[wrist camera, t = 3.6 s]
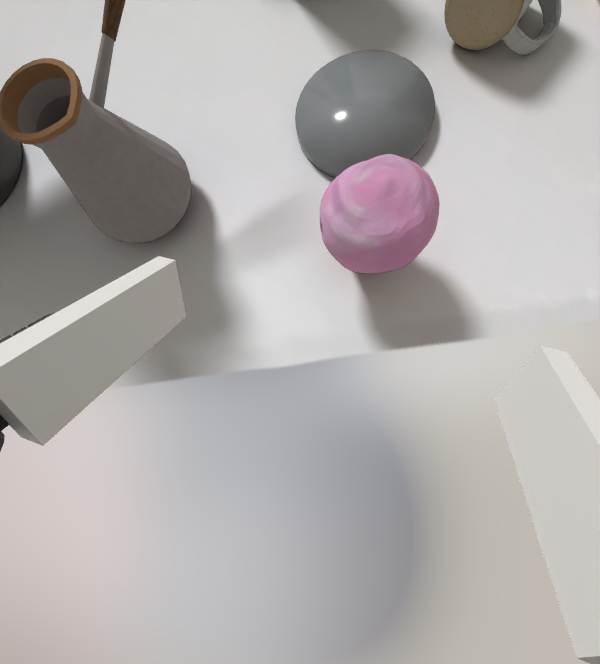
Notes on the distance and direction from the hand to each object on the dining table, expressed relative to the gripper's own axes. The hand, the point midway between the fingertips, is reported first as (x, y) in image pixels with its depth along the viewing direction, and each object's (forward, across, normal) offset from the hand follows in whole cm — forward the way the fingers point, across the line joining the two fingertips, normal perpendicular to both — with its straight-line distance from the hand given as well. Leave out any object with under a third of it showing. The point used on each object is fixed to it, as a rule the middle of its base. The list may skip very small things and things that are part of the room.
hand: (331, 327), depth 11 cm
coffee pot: (+23, -23, -1) cm, 32 cm away
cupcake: (+20, 0, -4) cm, 20 cm away
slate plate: (+29, -4, +6) cm, 30 cm away
